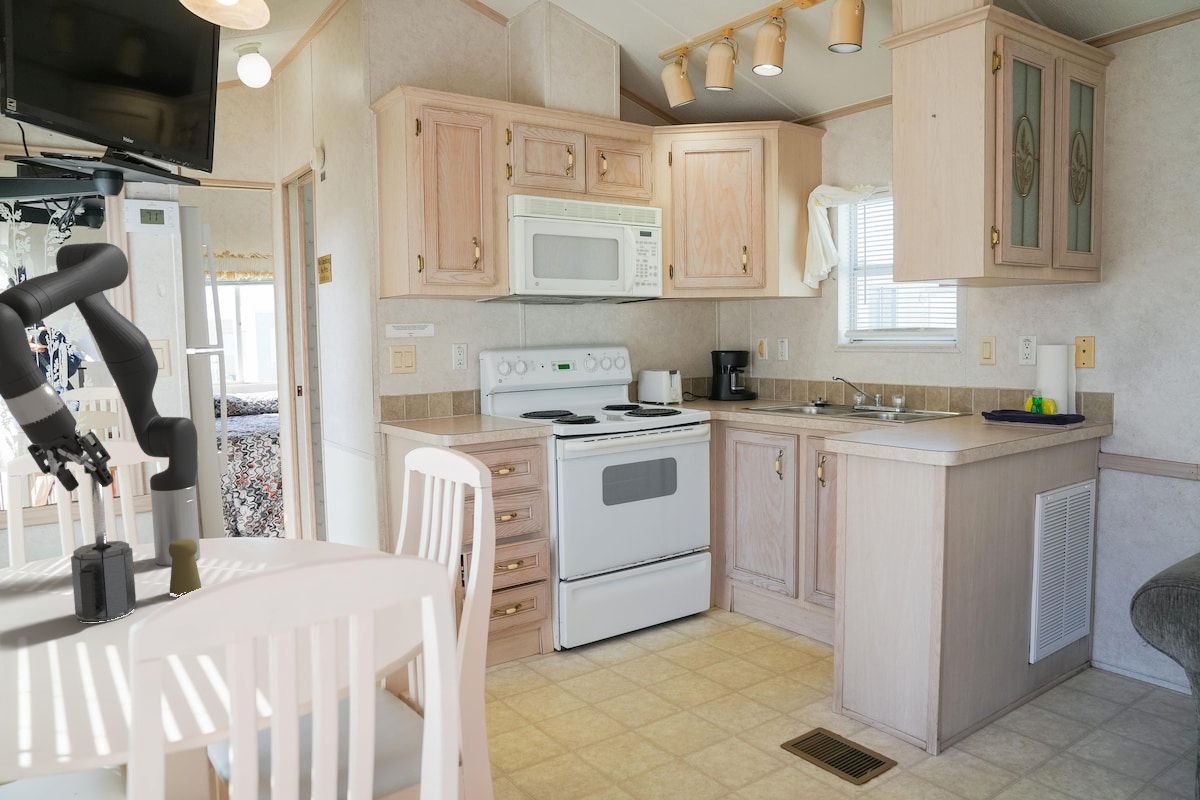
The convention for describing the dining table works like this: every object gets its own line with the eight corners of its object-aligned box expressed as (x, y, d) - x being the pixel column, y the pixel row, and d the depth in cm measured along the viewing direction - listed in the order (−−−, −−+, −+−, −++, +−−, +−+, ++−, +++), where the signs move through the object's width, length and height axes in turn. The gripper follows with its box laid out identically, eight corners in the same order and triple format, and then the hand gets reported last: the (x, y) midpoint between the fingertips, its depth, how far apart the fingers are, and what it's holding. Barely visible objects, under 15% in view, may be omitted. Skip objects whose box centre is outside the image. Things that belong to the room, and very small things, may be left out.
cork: (188, 598, 164) (185, 545, 162) (162, 596, 165) (158, 543, 164) (208, 588, 170) (205, 536, 168) (183, 586, 171) (179, 535, 170)
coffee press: (90, 607, 159) (85, 541, 158) (142, 603, 161) (138, 539, 160) (60, 631, 147) (55, 560, 146) (117, 627, 149) (112, 557, 148)
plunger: (92, 567, 157) (84, 459, 155) (128, 565, 158) (120, 458, 156) (77, 578, 151) (68, 466, 149) (114, 576, 152) (106, 464, 150)
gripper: (86, 395, 143) (134, 471, 151) (28, 405, 148) (77, 478, 155) (53, 418, 137) (105, 495, 144) (-7, 427, 142) (46, 502, 149)
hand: (91, 486), depth 150 cm, fingers open, 8 cm apart
